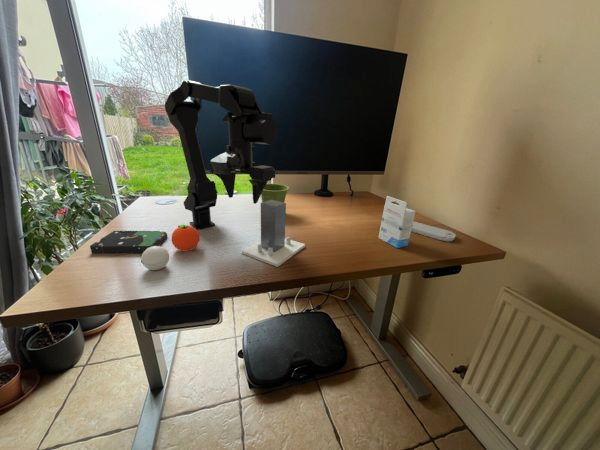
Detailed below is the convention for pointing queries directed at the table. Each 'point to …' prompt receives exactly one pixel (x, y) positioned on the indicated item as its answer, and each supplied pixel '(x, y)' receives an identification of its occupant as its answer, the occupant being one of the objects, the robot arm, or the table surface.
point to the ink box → (396, 223)
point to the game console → (432, 232)
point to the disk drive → (128, 242)
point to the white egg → (155, 258)
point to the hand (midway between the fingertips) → (242, 200)
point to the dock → (274, 257)
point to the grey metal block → (273, 224)
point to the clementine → (185, 238)
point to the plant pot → (274, 192)
